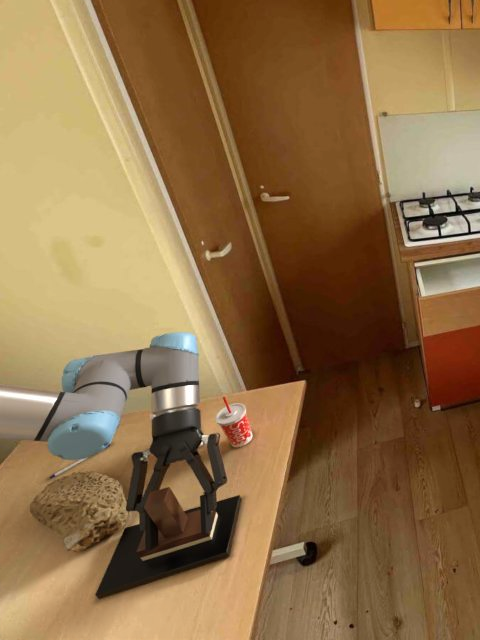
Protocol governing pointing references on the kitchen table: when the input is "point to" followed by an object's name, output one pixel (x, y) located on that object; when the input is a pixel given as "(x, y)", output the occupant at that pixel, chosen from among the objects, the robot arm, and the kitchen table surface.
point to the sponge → (81, 508)
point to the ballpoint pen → (70, 466)
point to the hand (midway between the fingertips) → (179, 540)
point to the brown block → (172, 525)
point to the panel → (168, 554)
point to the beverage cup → (234, 424)
